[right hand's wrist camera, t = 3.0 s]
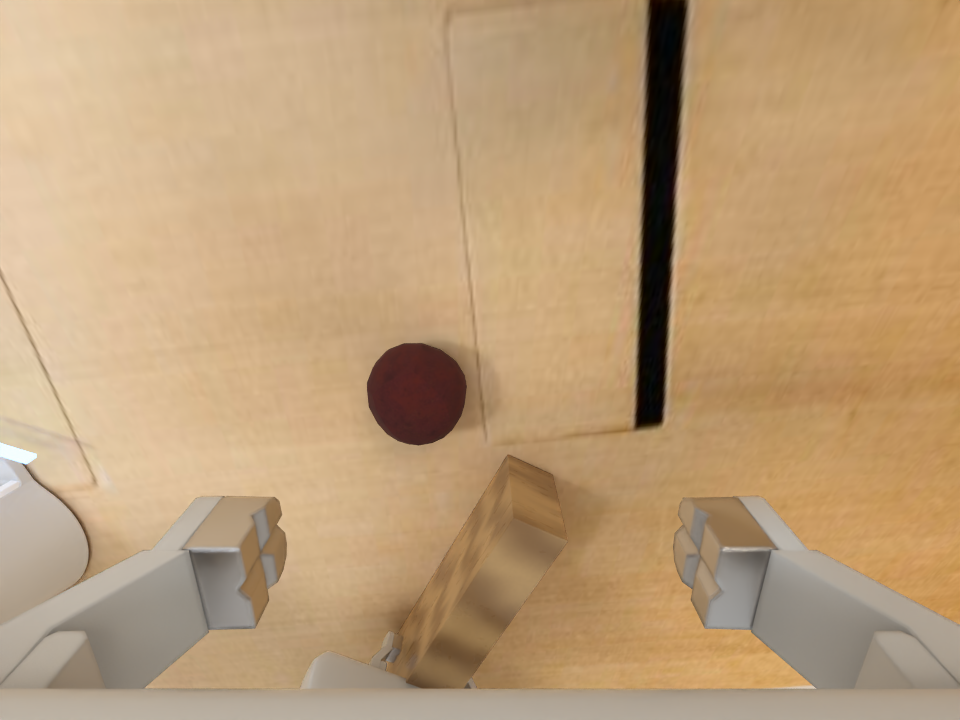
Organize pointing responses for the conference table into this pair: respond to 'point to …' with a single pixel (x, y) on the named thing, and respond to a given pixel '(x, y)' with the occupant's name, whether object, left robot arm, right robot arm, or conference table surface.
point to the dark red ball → (416, 393)
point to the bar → (483, 578)
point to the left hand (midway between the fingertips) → (426, 649)
